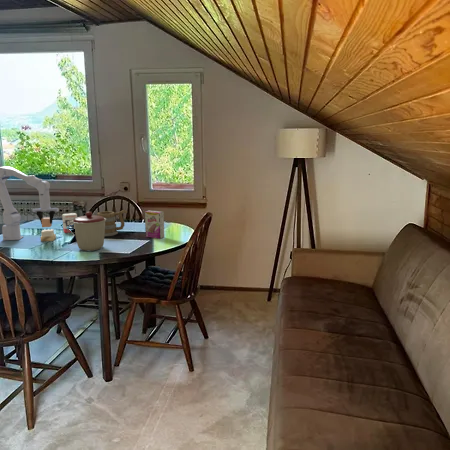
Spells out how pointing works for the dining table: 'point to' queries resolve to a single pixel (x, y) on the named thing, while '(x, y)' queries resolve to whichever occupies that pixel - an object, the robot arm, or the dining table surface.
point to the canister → (89, 231)
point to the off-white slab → (47, 233)
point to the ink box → (68, 221)
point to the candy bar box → (154, 224)
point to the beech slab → (48, 238)
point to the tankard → (112, 222)
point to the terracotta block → (46, 222)
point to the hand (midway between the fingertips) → (46, 223)
